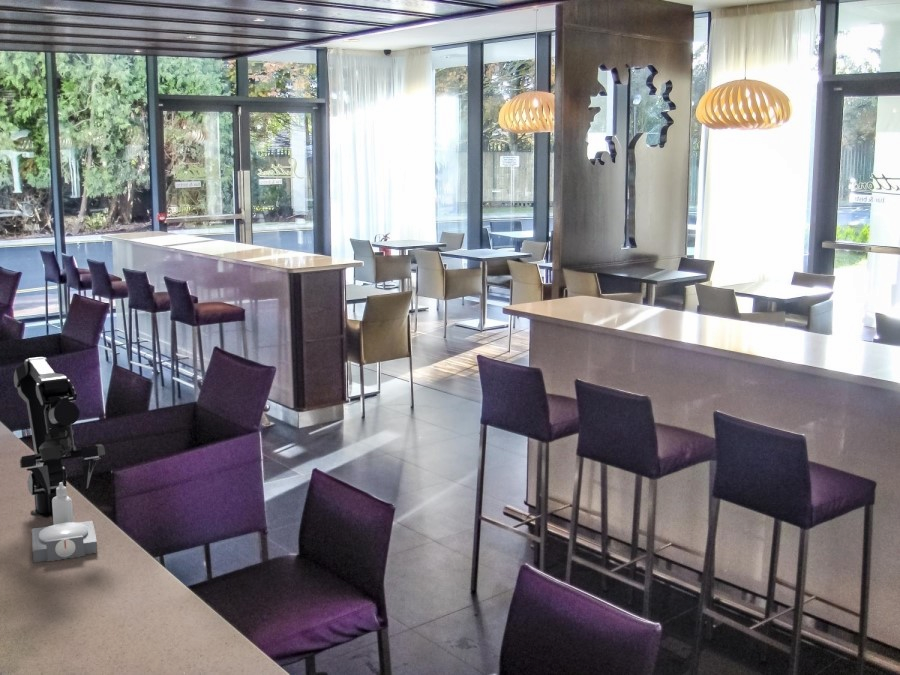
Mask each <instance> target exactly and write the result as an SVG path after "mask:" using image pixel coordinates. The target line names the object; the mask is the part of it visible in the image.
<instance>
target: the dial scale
mask: <svg viewBox="0 0 900 675" xmlns="http://www.w3.org/2000/svg"><path fill="white" fill-rule="evenodd" d="M94 526H95V525H94V521H93V520H87V521H80V522H75V521H74V522H68V523H59V524H55V525H54V524H52V525H49V526H43V527H42V526H41V527H37V528H31V534H32V535H31V539H32V540H31V542H32V559H33V564H34V563H41V562H47V563H50V562H49V561H51V562H56V561H55V560H58V561H61V560H60V559H64V560H68V559H67V558H71V559H75V558H74V557H78V558H81V557H80V556H84V557H85V555H84V554H89V553H95V554H98V541H97V536H96V531H95V527H94ZM89 555H90V554H89Z"/></svg>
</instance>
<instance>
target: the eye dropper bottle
mask: <svg viewBox="0 0 900 675" xmlns="http://www.w3.org/2000/svg"><path fill="white" fill-rule="evenodd" d="M67 490H68V489H67V487H65V486H63V483H62V482H60V483H59V487H57V488H56V495H57V496H55V497H54V498H53V499H52V509H53V515H52V521H53V522H52V525H55V524H59V523H68V522H75V520H74V507H73V500H72V499H71V497H69V496H68V493H67V492H68V491H67Z"/></svg>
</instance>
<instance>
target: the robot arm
mask: <svg viewBox="0 0 900 675" xmlns="http://www.w3.org/2000/svg"><path fill="white" fill-rule="evenodd" d="M13 385H14V387H15V388H17V393H18V396H19V397H20V398H21V399H22V400H23V401H24V402H25V403H26V409H27V415H28V419H29V426H30V432H31V439H32V445H33V451H34V454H29V455H23V456H21V458H20V459H19V465H20V469H23V468H26V471H27V472H28V471H29V474H28V479H27V490H28V491H29V492H28V493H30V494H31V496H34V506H35V507H34V509H33V510H30V514H33V515H36V516H39V517H44V518H50V517H51V516H52V517H53V509H52V499H53V498H54V497H55V496H57V495H56V488H57V487H59V483H60V482H62V483H63V486H65V487H66V488H67V478H68V471H66V468H65V466H63V463H62V460H68V459H75V458H76V459H77V458H80V457H83V458H84V459H81V460H80V463H81V465H82V476H83V485H84V488H85V489H89V487H90V481H91V478H92V474H93V470H94V467H95V466H96V464H97V461H98V460H101V457H100V456H105V455H106V450H105V446H104V445H103V443H98V444H93V445H87V446H81V447H80V449H77V446H76V445H75V442H74V434H75V430H74V429H73V428H72V425H73V424H75V423H76V422H77V421H78V419H79V417H80V409H79V407H78V406H77V405H76V404H75V403H74V402H76V401H77V398H78V396H77V395H78V394H77V391H76V390H75V387H74V384H73V383H72V382H71V380H70V379H68V377H67V375H65V374H63V373H56V372H55V371H54V369H53V368H52V367H51V366H50V365H49V362H48V360H47V357H46V356H45V357H44V356H37V357H29V358H26V359H24V362H23V363H22V364H21V365H19V366H18V367H16V368H15V370H14V374H13ZM66 453H69V454H66Z"/></svg>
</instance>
